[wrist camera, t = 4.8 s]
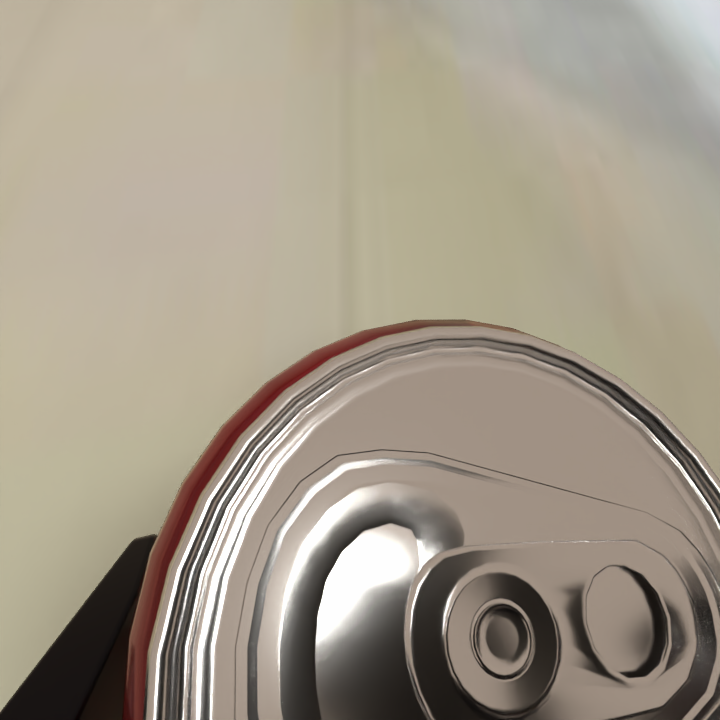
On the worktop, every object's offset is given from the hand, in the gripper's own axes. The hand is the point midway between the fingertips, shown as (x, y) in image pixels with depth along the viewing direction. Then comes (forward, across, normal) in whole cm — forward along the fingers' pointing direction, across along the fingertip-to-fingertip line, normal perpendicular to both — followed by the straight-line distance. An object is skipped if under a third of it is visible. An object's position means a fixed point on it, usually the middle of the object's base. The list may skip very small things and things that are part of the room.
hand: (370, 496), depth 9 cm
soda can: (+4, 0, +6) cm, 7 cm away
